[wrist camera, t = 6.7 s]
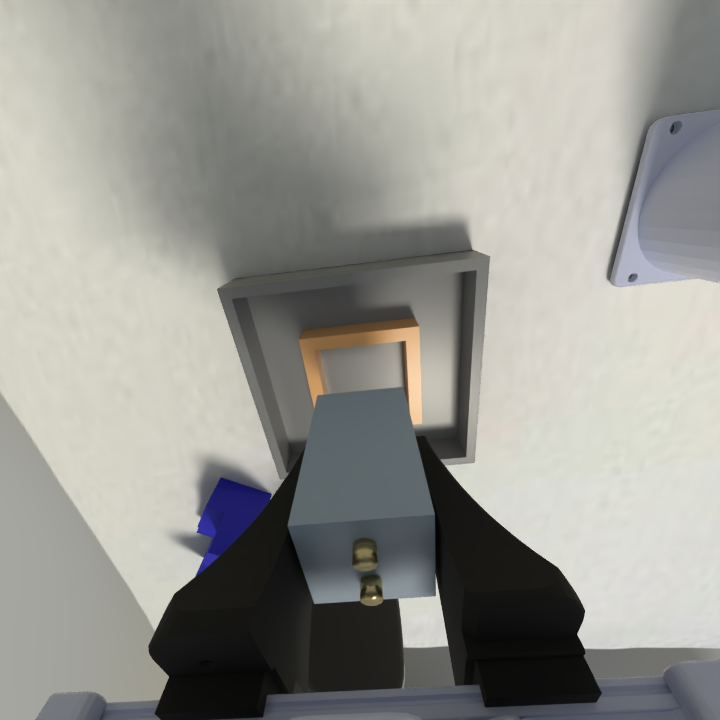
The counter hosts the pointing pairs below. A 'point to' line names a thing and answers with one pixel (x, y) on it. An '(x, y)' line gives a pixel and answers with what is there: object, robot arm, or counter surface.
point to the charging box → (365, 344)
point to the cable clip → (229, 516)
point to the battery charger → (355, 647)
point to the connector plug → (364, 502)
